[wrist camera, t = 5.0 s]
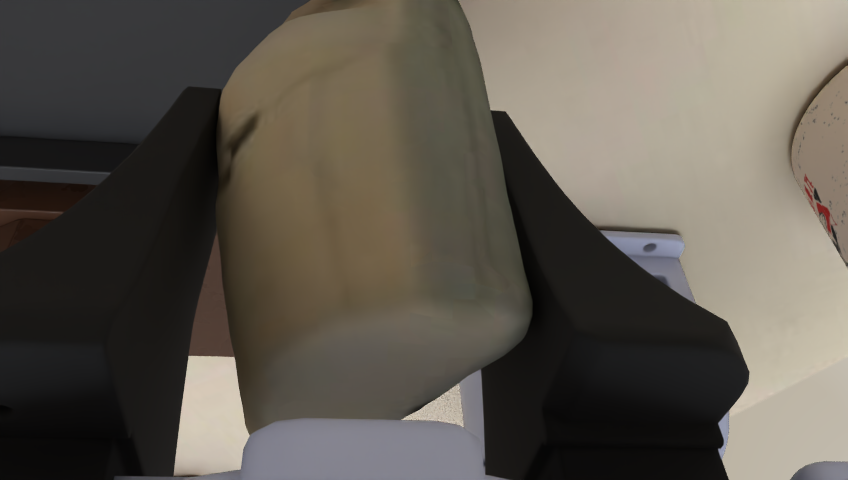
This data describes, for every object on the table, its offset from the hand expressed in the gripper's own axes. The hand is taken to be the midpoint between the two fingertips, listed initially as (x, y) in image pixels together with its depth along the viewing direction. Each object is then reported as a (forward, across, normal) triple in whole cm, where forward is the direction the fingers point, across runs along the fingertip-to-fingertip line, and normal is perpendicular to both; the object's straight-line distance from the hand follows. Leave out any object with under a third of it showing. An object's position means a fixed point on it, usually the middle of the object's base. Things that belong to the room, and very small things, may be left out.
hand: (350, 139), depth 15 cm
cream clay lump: (+2, 0, 0) cm, 2 cm away
